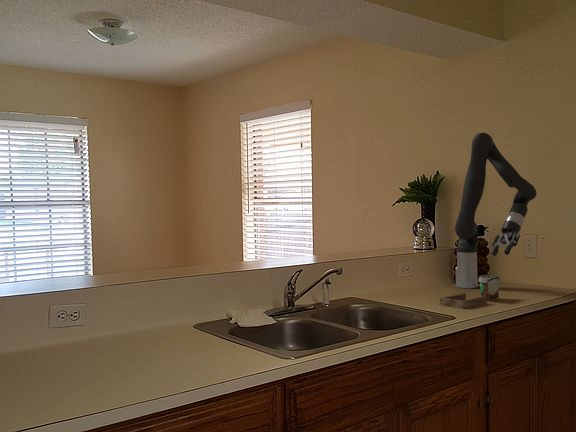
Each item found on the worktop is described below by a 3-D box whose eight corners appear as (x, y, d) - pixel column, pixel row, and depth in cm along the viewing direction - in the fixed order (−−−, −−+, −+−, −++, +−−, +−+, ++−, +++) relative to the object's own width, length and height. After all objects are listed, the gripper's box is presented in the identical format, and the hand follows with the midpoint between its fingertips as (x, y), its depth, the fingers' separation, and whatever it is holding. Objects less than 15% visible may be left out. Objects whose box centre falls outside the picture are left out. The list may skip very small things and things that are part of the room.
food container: (486, 296, 236) (486, 273, 236) (500, 298, 232) (499, 275, 231) (473, 300, 227) (472, 277, 227) (487, 302, 223) (486, 278, 223)
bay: (440, 305, 219) (440, 297, 219) (463, 300, 229) (463, 293, 229) (463, 309, 211) (463, 301, 210) (486, 303, 220) (486, 296, 220)
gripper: (496, 222, 252) (483, 251, 248) (517, 217, 238) (503, 248, 234) (508, 230, 253) (495, 259, 249) (530, 226, 240) (516, 257, 235)
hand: (499, 254), depth 241 cm, fingers open, 8 cm apart
